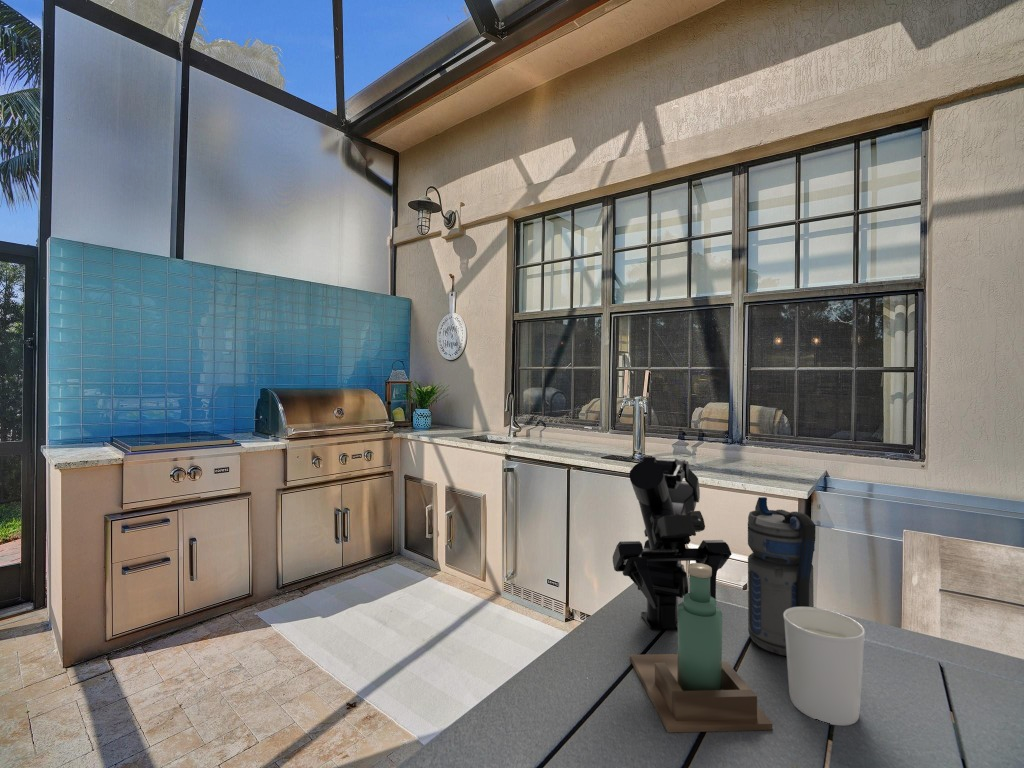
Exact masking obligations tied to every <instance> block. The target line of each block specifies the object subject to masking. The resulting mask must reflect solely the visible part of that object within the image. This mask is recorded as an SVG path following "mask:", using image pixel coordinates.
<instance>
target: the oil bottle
mask: <svg viewBox="0 0 1024 768" xmlns="http://www.w3.org/2000/svg"><path fill="white" fill-rule="evenodd" d="M687 566H688V567H687V569H688V570H687V574H688V575H689V593H687V594H685V595H684V596H683V602H680V603H678V629H677V654H678V658H677V683H678V684H679V686H680V687H681V689H682V690H683V691H702V690H722V662H723V612H722V610H721V609H720V608H719V607H717V599H716V600H715V599H714V598H713V597H711V596H710V577H711V576H712V568H711V567H710V566H708V565H705V564H701V563H696V562H692V563H689V564H688V565H687Z"/></svg>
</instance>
